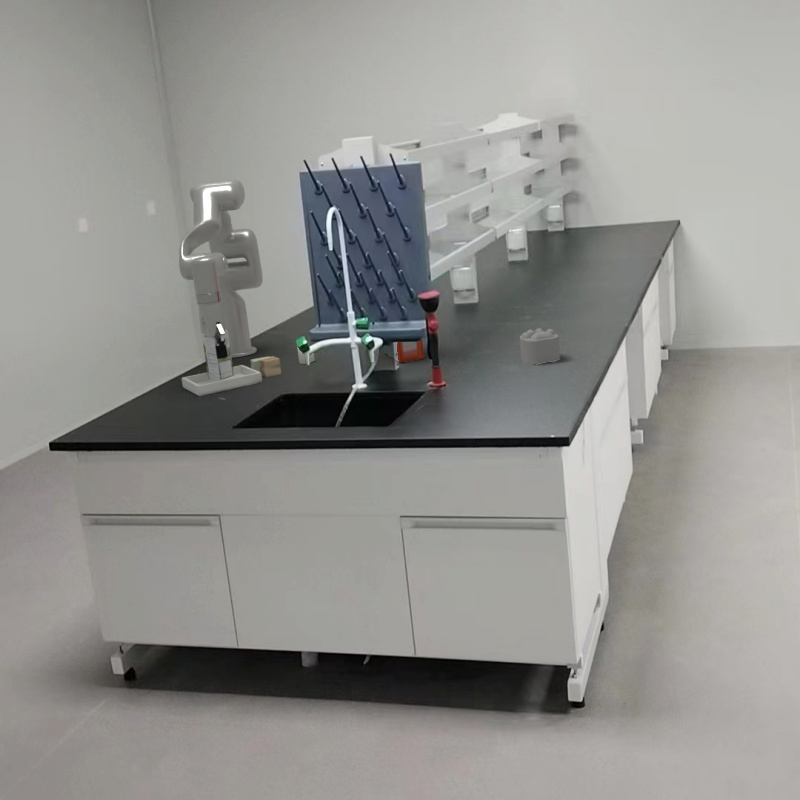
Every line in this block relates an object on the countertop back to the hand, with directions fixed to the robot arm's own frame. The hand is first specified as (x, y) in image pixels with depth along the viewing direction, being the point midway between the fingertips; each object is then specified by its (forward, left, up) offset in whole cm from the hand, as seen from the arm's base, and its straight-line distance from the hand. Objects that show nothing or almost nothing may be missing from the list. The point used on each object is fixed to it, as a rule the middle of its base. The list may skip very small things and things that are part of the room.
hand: (218, 355), depth 312 cm
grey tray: (0, 0, -9) cm, 9 cm away
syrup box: (0, 0, -7) cm, 7 cm away
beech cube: (0, +16, -9) cm, 18 cm away
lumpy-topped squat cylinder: (+54, +79, -9) cm, 97 cm away
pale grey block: (-6, +31, -9) cm, 33 cm away
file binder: (+15, +55, -9) cm, 58 cm away
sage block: (-7, +16, -9) cm, 20 cm away
